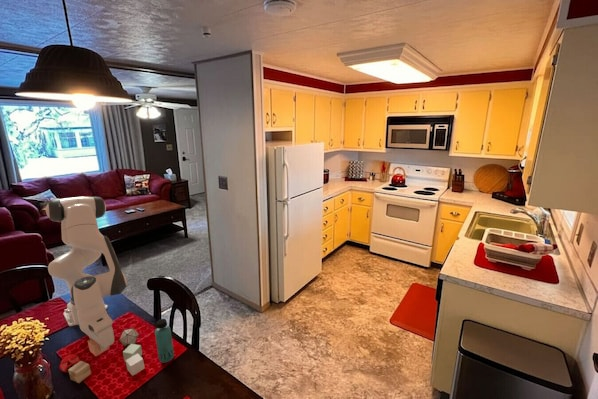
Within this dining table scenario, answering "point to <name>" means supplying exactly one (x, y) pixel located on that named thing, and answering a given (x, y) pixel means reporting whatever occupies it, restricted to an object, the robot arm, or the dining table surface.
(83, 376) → the block oak
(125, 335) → the game die
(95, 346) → the block terracotta
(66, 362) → the cap
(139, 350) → the block sage
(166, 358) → the beverage bottle
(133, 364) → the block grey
